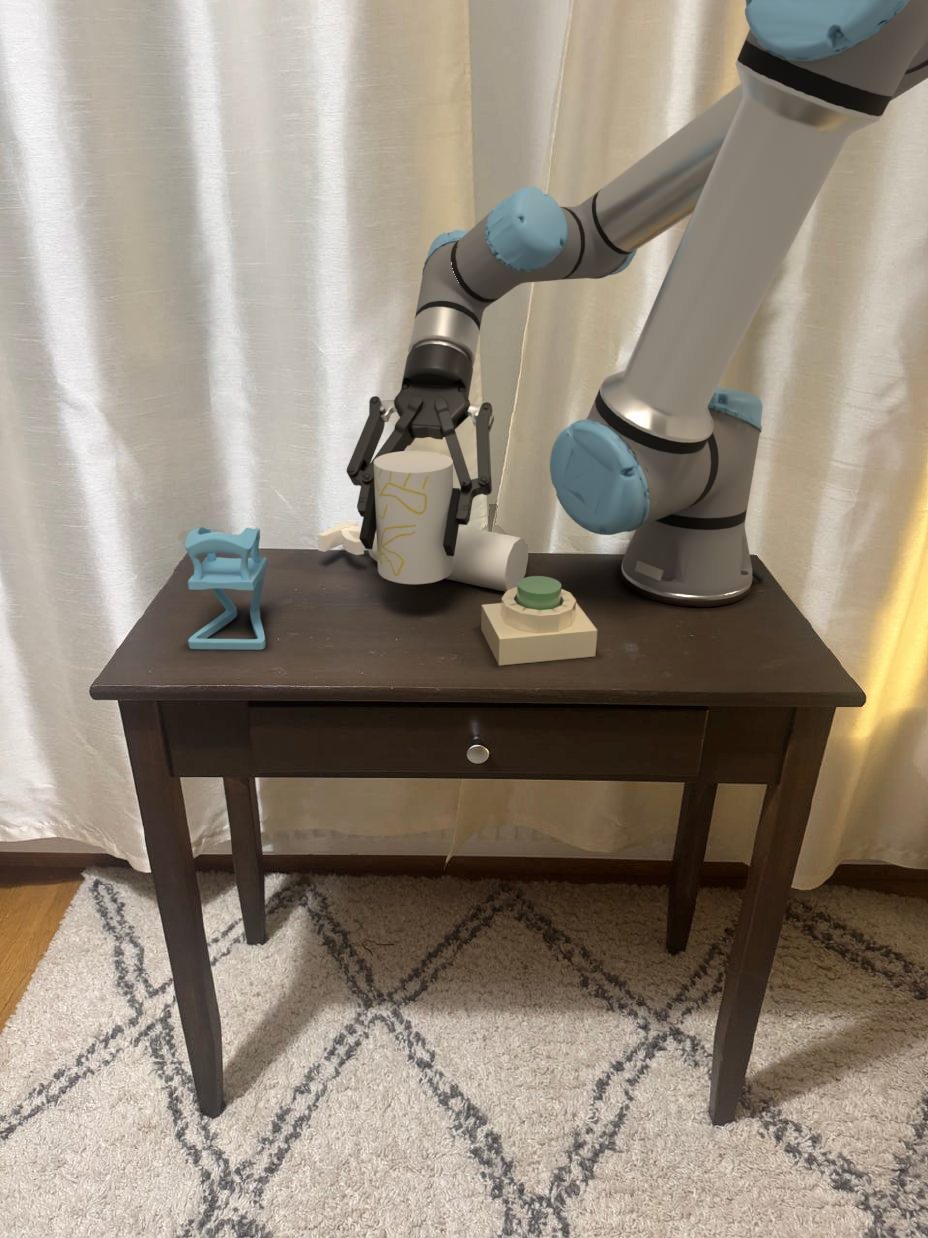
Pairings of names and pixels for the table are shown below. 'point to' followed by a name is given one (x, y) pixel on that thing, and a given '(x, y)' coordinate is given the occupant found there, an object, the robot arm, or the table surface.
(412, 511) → the white cylinder
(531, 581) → the green cylindrical puck
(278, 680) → the table surface
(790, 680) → the table surface
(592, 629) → the push button base
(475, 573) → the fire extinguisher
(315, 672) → the table surface
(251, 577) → the chair
